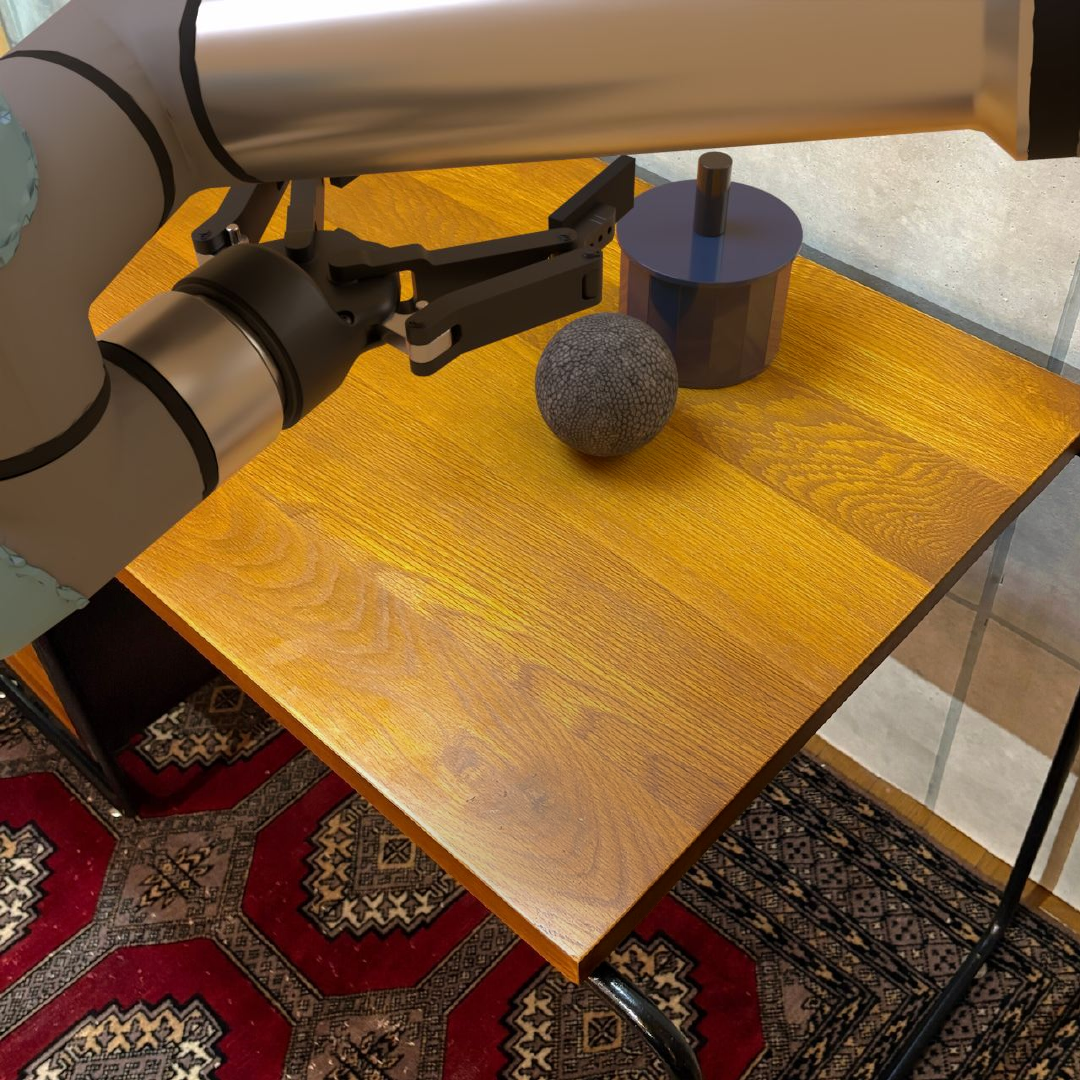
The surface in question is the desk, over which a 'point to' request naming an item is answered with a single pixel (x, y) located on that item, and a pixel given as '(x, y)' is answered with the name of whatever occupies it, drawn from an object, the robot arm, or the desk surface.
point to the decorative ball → (606, 384)
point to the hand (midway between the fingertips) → (515, 143)
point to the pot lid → (710, 230)
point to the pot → (709, 324)
